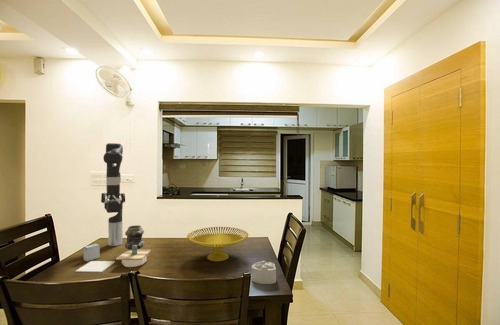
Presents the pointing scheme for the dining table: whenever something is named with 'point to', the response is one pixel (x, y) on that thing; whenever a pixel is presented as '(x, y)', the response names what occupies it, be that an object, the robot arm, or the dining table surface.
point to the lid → (133, 254)
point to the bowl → (134, 262)
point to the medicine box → (91, 252)
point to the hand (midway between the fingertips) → (113, 209)
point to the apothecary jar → (134, 237)
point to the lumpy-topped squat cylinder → (263, 273)
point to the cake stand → (217, 240)
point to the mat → (95, 266)
